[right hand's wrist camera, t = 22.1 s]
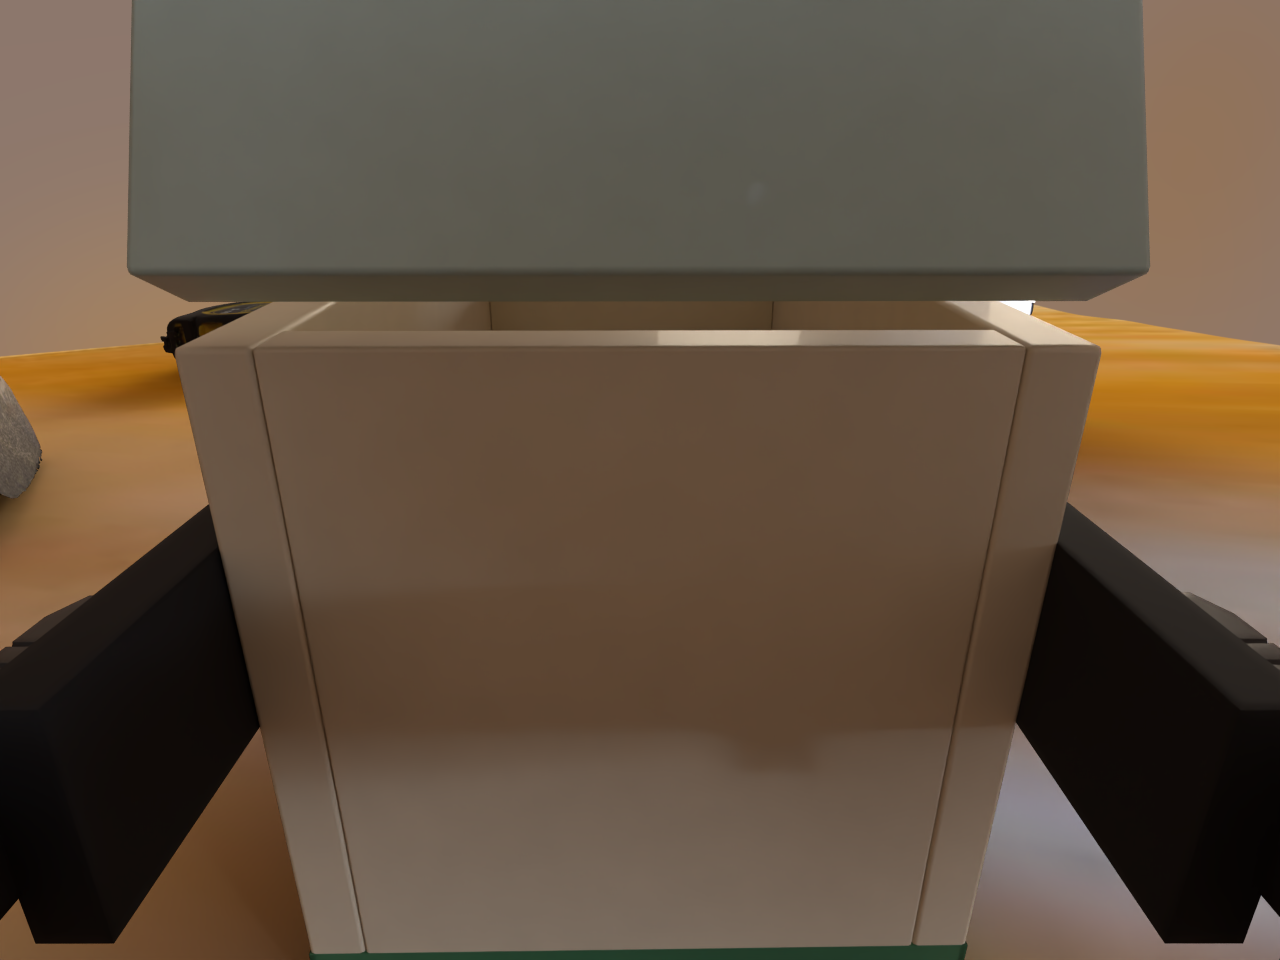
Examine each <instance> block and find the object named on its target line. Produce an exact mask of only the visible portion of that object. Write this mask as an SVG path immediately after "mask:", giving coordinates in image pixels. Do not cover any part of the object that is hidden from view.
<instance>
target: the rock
mask: <svg viewBox="0 0 1280 960" xmlns="http://www.w3.org/2000/svg"><path fill="white" fill-rule="evenodd" d="M41 454H42V450H41V449H40V444H39V442H38V440H37V437H36V435H35V433H34V430H33V428H32V426H31V424H30V422H29V421H28V419H27V417H26V416H25V414H24V412H23V411H22V409H21V407H20V405H19V404H18V402H17V400H16V398H15V396H14V394H13V392H12V390H11V389H10V387H9V386H8V385H7V383H6V382H5V381H4V380H3V378H2V377H1V376H0V494H2V495H4V496H7V497H9V498H17V497H18V496H19V495H20V494H21V493H22V491H26V490H25V489H26V488H27V487H29V484H31V482H30V481H31V480H32V479H33V478H34V475H35V474H36V472H37V471H38V470H37V469H39V468H40V465H39V464H40V461H42V459H41ZM39 457H40V461H39ZM36 468H37V469H36Z"/></svg>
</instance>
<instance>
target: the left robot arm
mask: <svg viewBox="0 0 1280 960" xmlns="http://www.w3.org/2000/svg"><path fill="white" fill-rule="evenodd" d="M1000 302H1002V303H1004V304H1006V305H1009V306H1011V307H1013V308H1015V309H1017V310H1020V311H1022V312H1024V313H1026V314H1029V315H1031V314H1032V311H1033V302H1035V301H1000Z"/></svg>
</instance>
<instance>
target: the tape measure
mask: <svg viewBox="0 0 1280 960" xmlns="http://www.w3.org/2000/svg"><path fill="white" fill-rule="evenodd" d="M270 303H272V302H236V303H229V304H223V305H218V306H212V307H208V308H204V309H201V310H198V311H196V312H193V313H190V314H187V315H183V316H180V317H177V318H175V319H173V320H172V321H170V322H169V324H168V326H167V336H166V337H164V336H161V340H162V341H163V342H164V346H163V347H164V350H165V351H166V352H168V353H173V355H174V358H175V350H176V348H178V347H180V346H182V345H184V344H186V343H188V342H190V341H192V340H195V339H197V338H199V337H201V336H203V335H205V334H207V333H209V332H211V331H213V330H215V329H217V328H220V327H222V326H224V325H226V324H228V323H230V322H232V321H234V320H236V319H238V318H240V317H243V316H245V315H247V314H249V313H251V312H253V311H255V310H257V309H259V308H261V307H263V306H266V305H268V304H270ZM175 359H176V358H175Z"/></svg>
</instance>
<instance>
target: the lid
mask: <svg viewBox="0 0 1280 960" xmlns="http://www.w3.org/2000/svg"><path fill="white" fill-rule="evenodd" d="M130 81H131V82H130V136H129V188H128V242H127V268H128V271H129V273H130V274H131V275H133V276H135V277H137V278H139V279H142V280H144V281H146V282H148V283H150V284H152V285H154V286H156V287H158V288H160V289H163V290H165V291H167V292H169V293H171V294H173V295H175V296H177V297H179V298H181V299H184V300H186V301H188V302H533V301H1087V300H1090V299H1092V298H1094V297H1097V296H1099V295H1101V294H1103V293H1105V292H1107V291H1110V290H1112V289H1114V288H1116V287H1119V286H1121V285H1123V284H1125V283H1127V282H1130V281H1132V280H1134V279H1136V278H1138V277H1140V276H1143V275H1145V274H1147V272H1148V271H1149V268H1150V250H1149V216H1148V181H1147V147H1146V112H1145V78H1144V43H1143V9H1142V0H132V28H131V80H130Z"/></svg>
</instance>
